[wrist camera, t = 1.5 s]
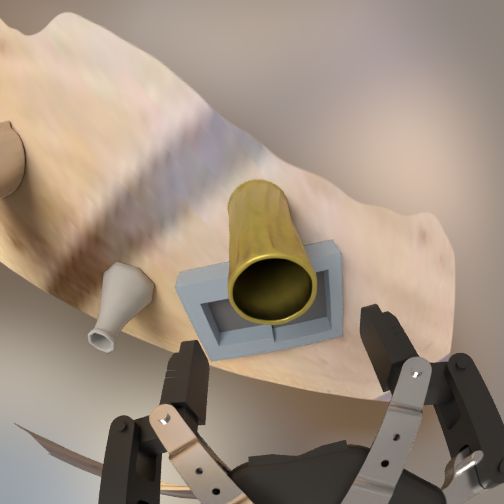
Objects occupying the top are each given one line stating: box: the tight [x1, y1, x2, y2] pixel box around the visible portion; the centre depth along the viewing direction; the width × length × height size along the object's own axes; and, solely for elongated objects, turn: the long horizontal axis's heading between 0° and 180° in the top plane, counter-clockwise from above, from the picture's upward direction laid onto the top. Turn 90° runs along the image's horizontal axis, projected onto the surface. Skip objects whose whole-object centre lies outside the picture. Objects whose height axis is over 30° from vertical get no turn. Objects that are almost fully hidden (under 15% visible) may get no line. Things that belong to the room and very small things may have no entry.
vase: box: [228, 180, 317, 325], centre depth 22 cm, size 6×6×14 cm
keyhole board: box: [175, 240, 343, 361], centre depth 33 cm, size 13×18×3 cm
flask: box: [88, 262, 154, 353], centre depth 28 cm, size 7×7×10 cm
